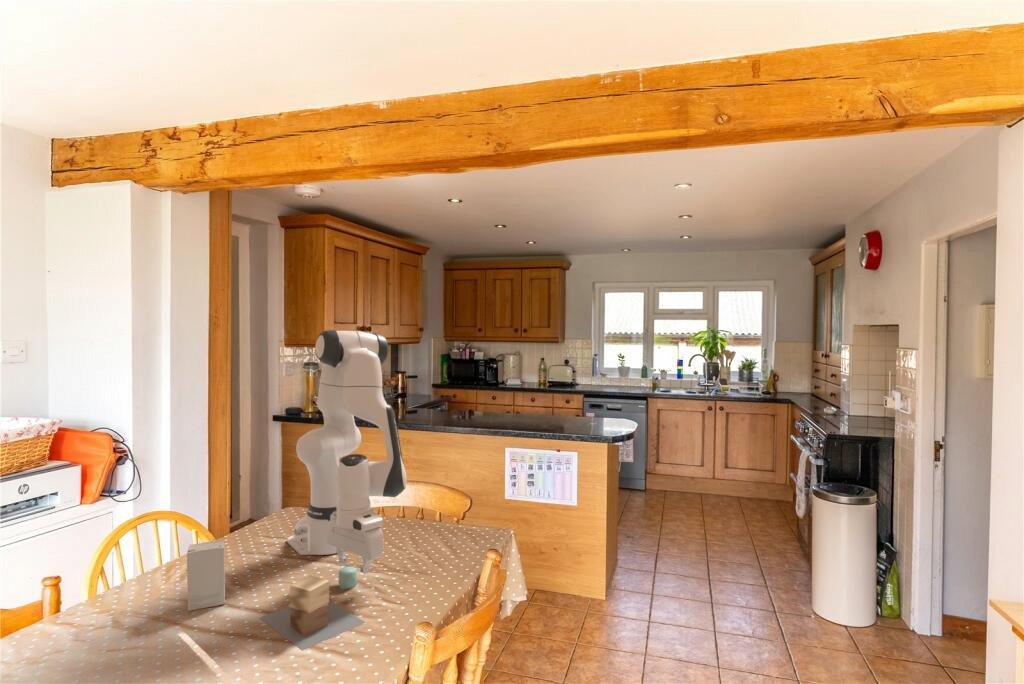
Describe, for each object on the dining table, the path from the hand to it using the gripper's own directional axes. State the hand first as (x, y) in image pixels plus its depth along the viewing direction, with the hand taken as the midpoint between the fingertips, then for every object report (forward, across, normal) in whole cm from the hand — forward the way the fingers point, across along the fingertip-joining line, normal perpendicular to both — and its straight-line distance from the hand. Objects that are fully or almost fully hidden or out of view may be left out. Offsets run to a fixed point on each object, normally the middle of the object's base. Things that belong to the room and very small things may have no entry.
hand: (354, 568), depth 149 cm
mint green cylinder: (+6, -2, -1) cm, 6 cm away
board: (+6, +8, -17) cm, 20 cm away
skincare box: (+5, -21, -29) cm, 36 cm away
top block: (0, +10, -19) cm, 22 cm away
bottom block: (+5, +10, -19) cm, 22 cm away
